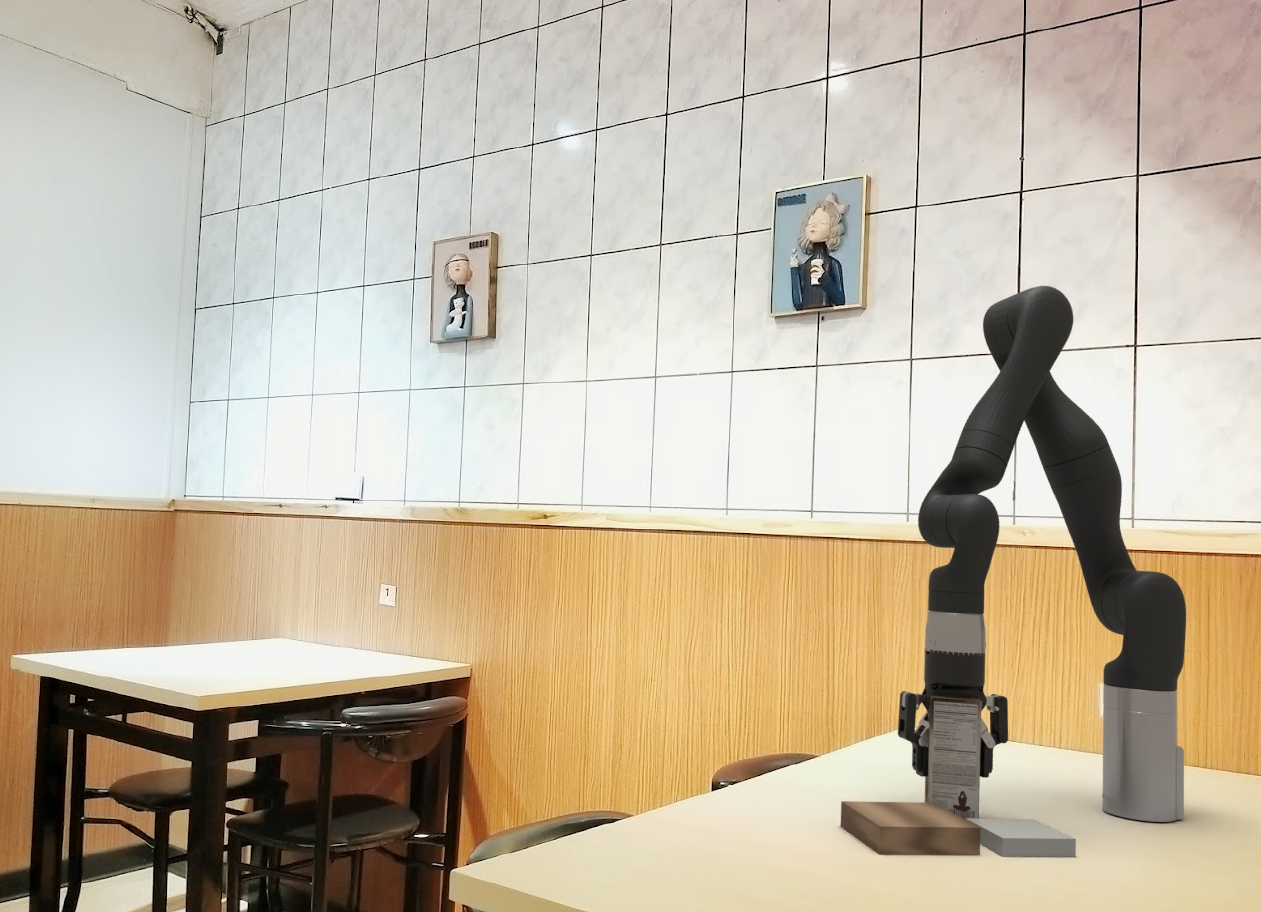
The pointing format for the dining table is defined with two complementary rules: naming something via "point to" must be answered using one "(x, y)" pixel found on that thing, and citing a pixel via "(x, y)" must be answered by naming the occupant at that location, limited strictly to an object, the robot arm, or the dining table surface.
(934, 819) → the walnut base
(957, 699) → the coffee box
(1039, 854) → the grey coaster
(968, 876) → the dining table surface
